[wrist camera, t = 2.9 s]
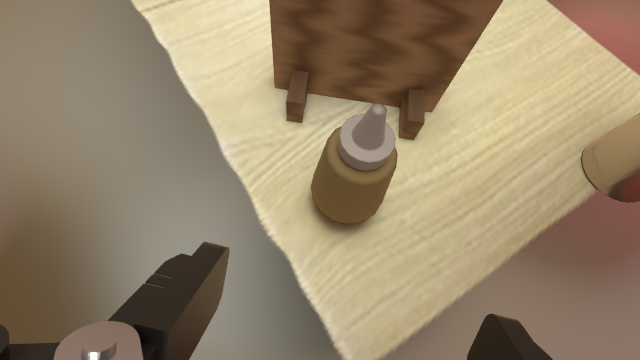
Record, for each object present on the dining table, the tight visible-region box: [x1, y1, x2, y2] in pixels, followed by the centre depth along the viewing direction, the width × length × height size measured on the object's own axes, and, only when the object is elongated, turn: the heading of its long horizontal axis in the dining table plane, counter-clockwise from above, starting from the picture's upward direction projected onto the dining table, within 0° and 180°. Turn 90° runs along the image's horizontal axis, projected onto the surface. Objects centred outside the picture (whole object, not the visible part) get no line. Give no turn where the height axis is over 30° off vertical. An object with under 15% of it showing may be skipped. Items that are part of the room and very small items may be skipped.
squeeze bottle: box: [311, 103, 398, 224], centre depth 32 cm, size 8×8×18 cm
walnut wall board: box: [269, 0, 503, 140], centre depth 36 cm, size 22×7×22 cm, turn 83°
